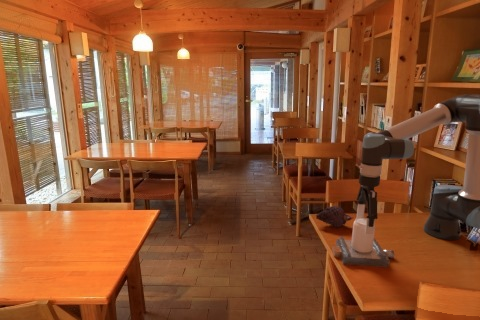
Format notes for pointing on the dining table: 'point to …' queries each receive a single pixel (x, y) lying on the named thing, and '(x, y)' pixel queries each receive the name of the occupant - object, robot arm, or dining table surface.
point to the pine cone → (333, 216)
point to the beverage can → (361, 236)
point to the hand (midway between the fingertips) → (364, 226)
